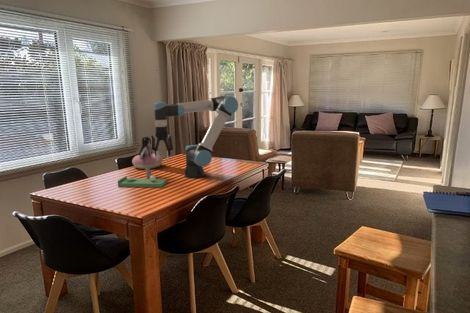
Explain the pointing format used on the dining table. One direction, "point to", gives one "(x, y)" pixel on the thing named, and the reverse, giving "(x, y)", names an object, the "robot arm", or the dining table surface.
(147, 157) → the figurine
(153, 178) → the ball
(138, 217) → the dining table surface
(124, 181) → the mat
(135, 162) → the cushion
